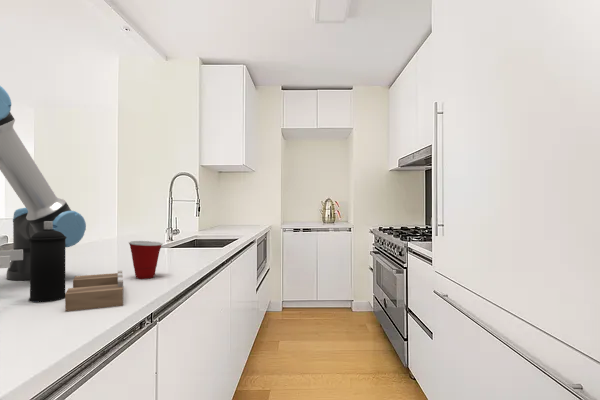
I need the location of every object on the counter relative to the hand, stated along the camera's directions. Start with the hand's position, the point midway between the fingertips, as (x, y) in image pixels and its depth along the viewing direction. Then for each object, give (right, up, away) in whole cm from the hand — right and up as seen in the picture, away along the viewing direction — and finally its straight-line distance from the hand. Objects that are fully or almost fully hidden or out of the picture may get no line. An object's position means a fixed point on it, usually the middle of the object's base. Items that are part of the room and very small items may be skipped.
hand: (16, 258), depth 98 cm
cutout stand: (+18, -11, +4) cm, 21 cm away
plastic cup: (+20, -11, +32) cm, 39 cm away
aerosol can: (+6, -11, +3) cm, 13 cm away
